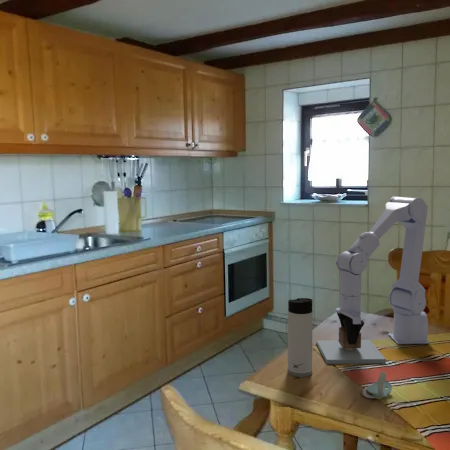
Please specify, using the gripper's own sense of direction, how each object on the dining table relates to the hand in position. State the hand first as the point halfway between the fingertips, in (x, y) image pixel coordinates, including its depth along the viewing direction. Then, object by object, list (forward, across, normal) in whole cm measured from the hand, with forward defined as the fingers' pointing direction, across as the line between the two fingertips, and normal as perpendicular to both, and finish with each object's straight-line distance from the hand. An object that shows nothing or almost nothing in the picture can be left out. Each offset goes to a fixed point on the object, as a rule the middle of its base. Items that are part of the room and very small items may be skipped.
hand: (349, 340), depth 133 cm
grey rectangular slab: (+4, 0, 0) cm, 4 cm away
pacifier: (+4, +24, 0) cm, 25 cm away
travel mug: (+4, +12, -16) cm, 20 cm away
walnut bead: (+1, 0, 0) cm, 1 cm away
